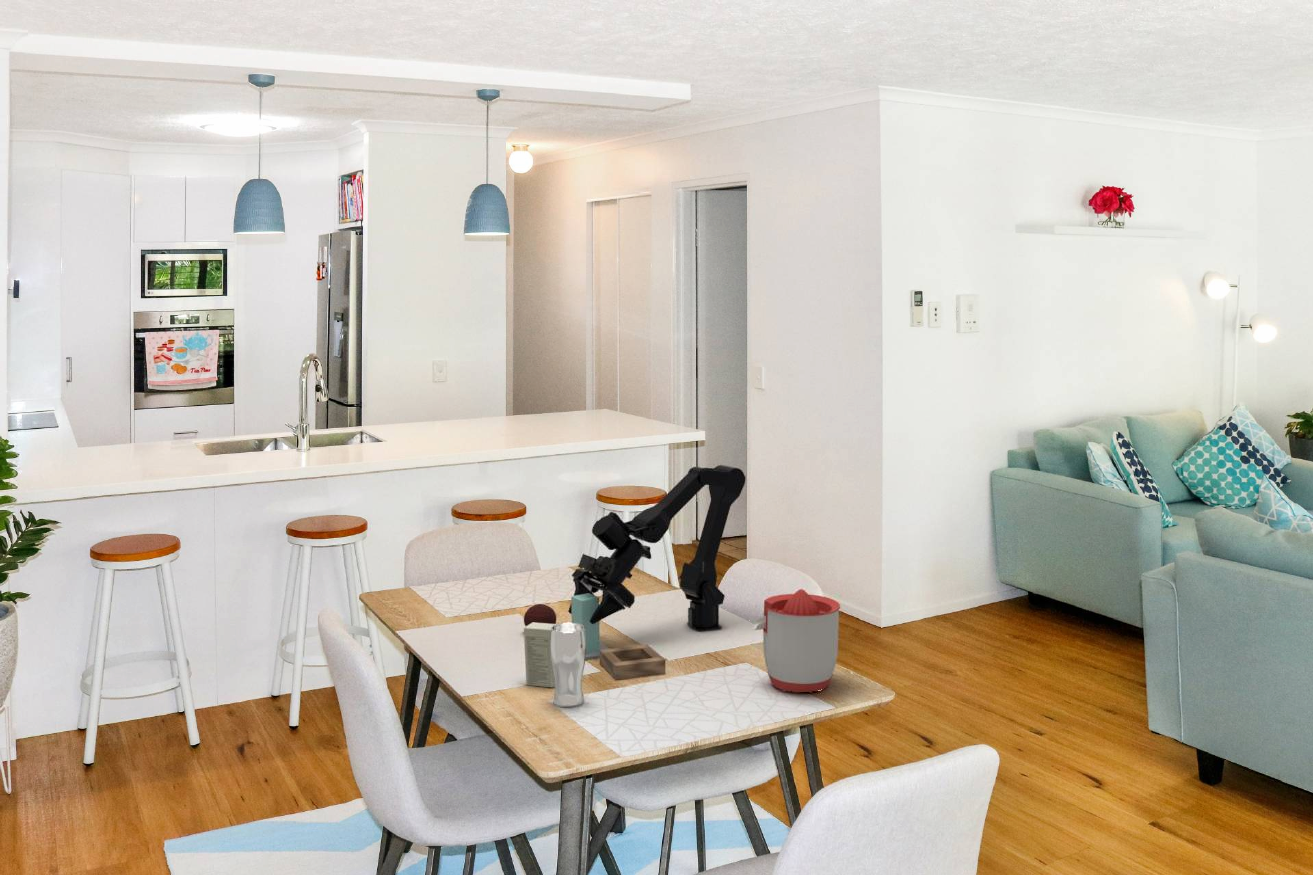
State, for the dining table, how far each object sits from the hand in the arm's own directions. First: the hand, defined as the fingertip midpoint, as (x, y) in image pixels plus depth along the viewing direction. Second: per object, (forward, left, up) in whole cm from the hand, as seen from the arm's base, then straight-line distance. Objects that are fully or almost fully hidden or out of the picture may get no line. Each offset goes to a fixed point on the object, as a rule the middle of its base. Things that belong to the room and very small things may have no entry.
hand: (580, 617), depth 244 cm
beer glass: (+11, +28, -8) cm, 31 cm away
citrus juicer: (-35, +35, -8) cm, 50 cm away
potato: (+5, -17, -8) cm, 20 cm away
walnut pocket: (-7, +14, -8) cm, 17 cm away
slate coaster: (-1, 0, -8) cm, 8 cm away
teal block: (-1, 0, -7) cm, 8 cm away
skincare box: (+13, +16, -8) cm, 22 cm away
